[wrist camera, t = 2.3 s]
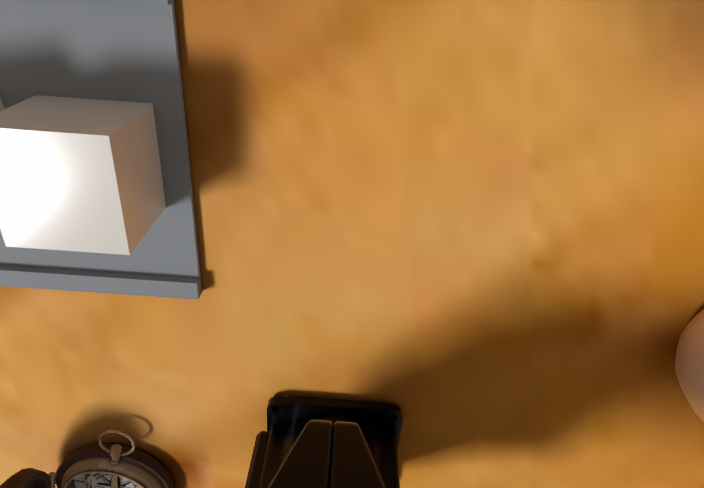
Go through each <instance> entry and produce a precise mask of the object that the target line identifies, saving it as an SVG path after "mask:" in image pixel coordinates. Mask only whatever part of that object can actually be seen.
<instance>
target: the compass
mask: <svg viewBox="0 0 704 488" xmlns="http://www.w3.org/2000/svg"><path fill="white" fill-rule="evenodd" d="M108 433H118V434H121V435H124V436H125V437H127V438H128V439H129V440H130V441H131V442H132V448H131V447H127V446H122V445H119V444H102V441H101V438H102V436H103V435H105V434H108ZM98 443H99V444H94V445H90V446H85V447H81V448H79V449H77V450H75V451H73V452H71V453H69V455H68V456H67V457H66V458H65V459H64V461H63V462H62V464H61V465H60V466H59V467H58V469H57V472H56V473H54V472H51V473H50V474H47V473H45V472H43V471H40V470H36V469H33V468H27V469H22V470H21V471H19V472H17V473H16V474H14V475H13V476H11V477H10V478H8V479H7V480H6V481H5V482H4V483H3V484H2V485H1V486H0V488H55V484H57V488H174V484H173V481H172V479H171V477H170V475H169V473H168V471H167V470H166V469H165V468H164V467H163V466H162V465H161V464H160V463H159V462H158V461H157V460H155V459H154V458H152V457H150V456H149V455H147V454H146V453H144V452H141V451H139V450H136V449H135V447H136V446H135V441H134V440H133V438H132V437H131V436H130V435H128V434H127V433H125V432H122V431H119V430H107V431H104V432H103V433H101V434H100V435H99V437H98Z"/></svg>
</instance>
